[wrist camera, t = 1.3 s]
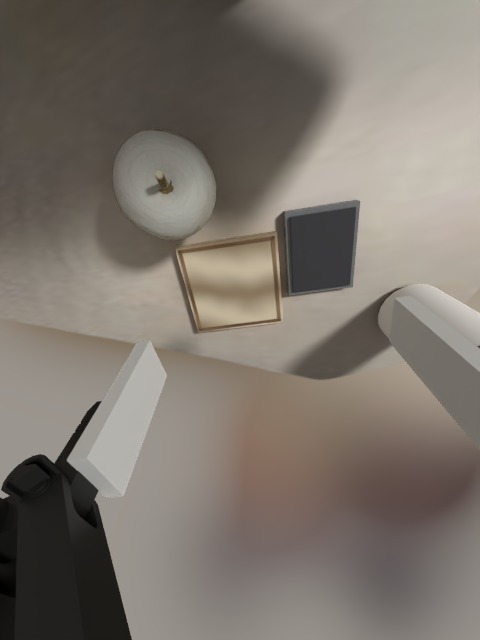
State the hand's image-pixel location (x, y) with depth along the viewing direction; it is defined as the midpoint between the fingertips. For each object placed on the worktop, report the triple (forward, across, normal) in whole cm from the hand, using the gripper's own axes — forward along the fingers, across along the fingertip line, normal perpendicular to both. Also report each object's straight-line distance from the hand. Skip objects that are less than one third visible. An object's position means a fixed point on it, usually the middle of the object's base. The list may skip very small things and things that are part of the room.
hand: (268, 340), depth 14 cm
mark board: (+19, -4, -4) cm, 20 cm away
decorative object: (+20, -7, +8) cm, 22 cm away
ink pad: (+19, +8, -2) cm, 21 cm away
